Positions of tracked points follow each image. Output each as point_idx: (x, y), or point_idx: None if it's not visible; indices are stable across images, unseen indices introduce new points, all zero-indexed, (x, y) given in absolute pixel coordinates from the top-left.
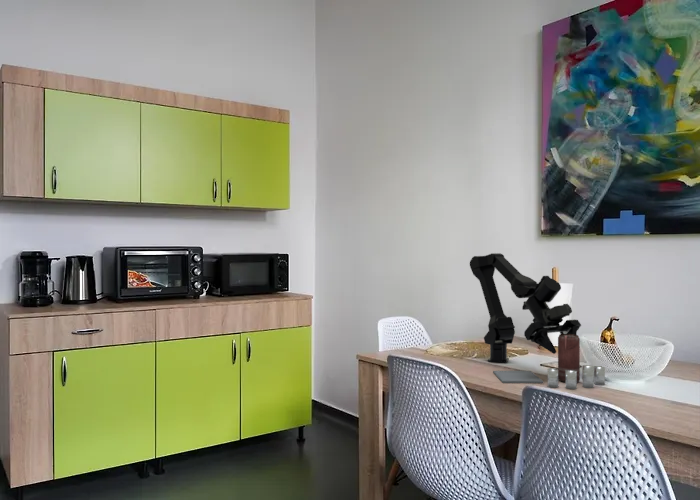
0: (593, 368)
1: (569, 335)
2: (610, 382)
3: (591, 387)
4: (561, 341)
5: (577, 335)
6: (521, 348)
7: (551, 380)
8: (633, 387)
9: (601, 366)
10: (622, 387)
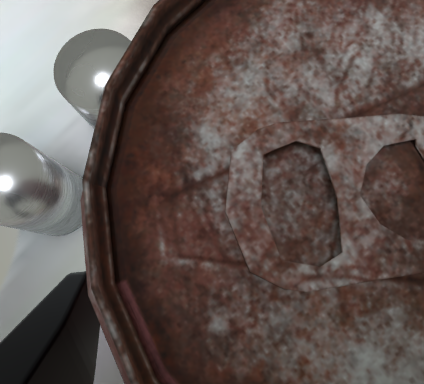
0: None
1: (345, 233)
2: (37, 132)
3: None
4: None
5: (116, 85)
6: None
7: None
8: (16, 3)
9: (60, 81)
10: (72, 20)
